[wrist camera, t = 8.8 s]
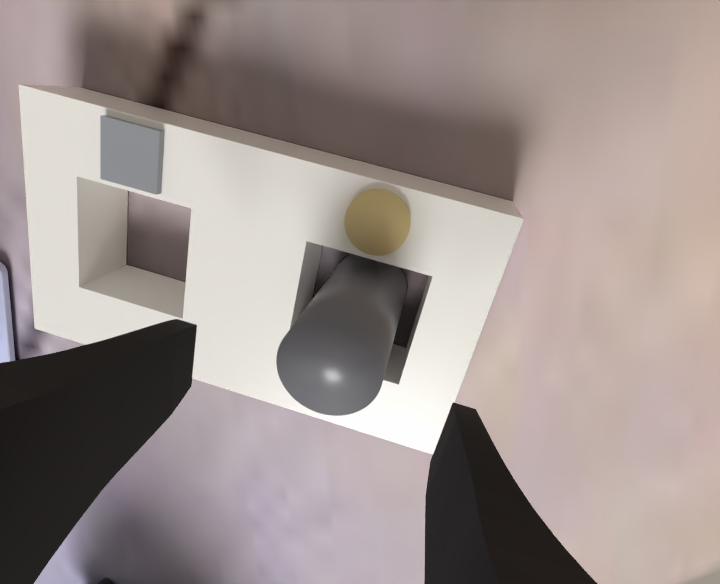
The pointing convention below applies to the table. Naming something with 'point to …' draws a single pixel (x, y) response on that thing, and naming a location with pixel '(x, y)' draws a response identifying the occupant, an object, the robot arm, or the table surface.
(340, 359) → the plug
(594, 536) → the table surface
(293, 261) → the socket box
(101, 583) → the magazine
